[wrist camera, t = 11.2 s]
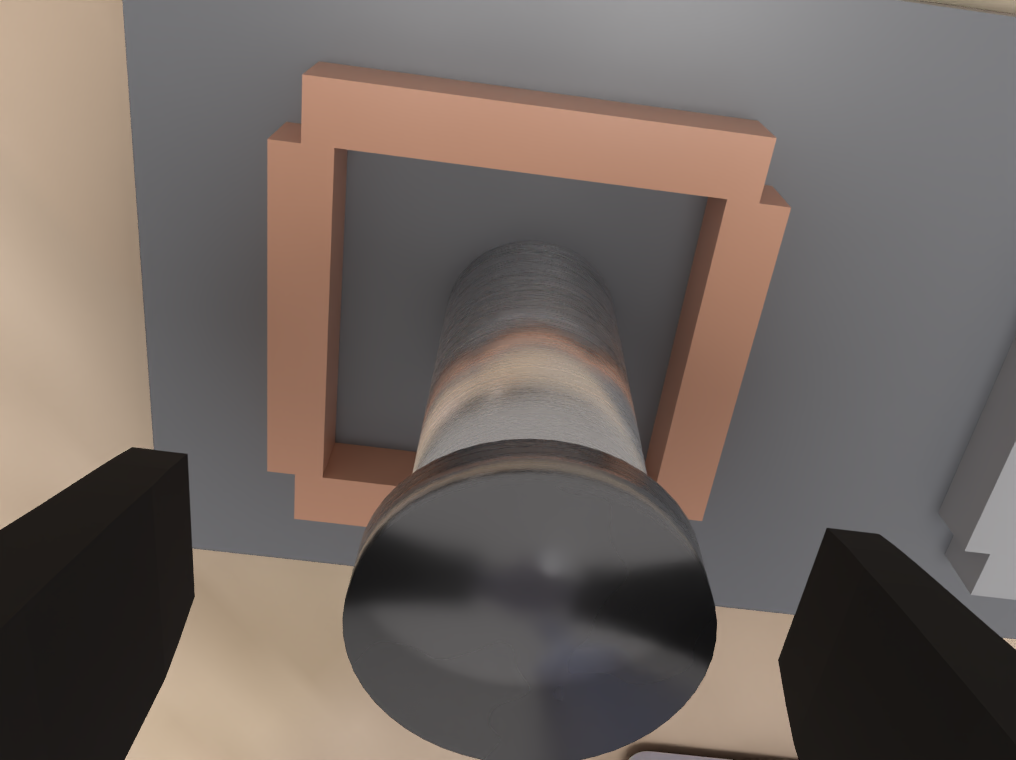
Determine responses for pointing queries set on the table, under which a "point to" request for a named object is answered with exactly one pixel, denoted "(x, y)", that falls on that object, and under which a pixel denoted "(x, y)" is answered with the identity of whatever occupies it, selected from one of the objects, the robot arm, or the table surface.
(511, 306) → the pin
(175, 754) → the table surface
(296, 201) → the dock board
